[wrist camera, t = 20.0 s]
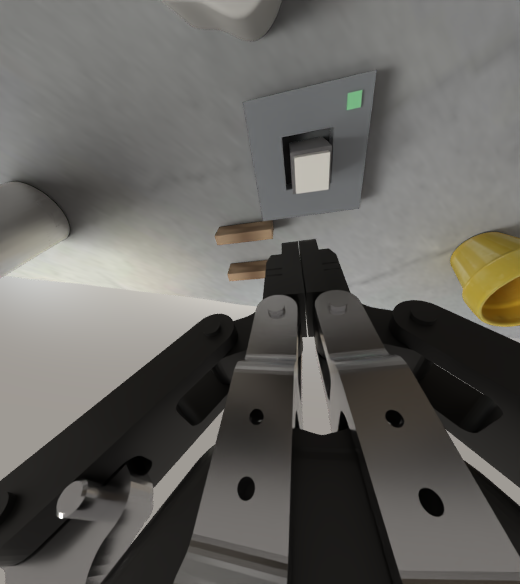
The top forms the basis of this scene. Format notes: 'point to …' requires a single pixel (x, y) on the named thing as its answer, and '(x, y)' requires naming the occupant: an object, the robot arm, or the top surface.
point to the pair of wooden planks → (245, 234)
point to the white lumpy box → (228, 15)
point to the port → (305, 118)
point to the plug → (310, 165)
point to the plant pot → (490, 277)
